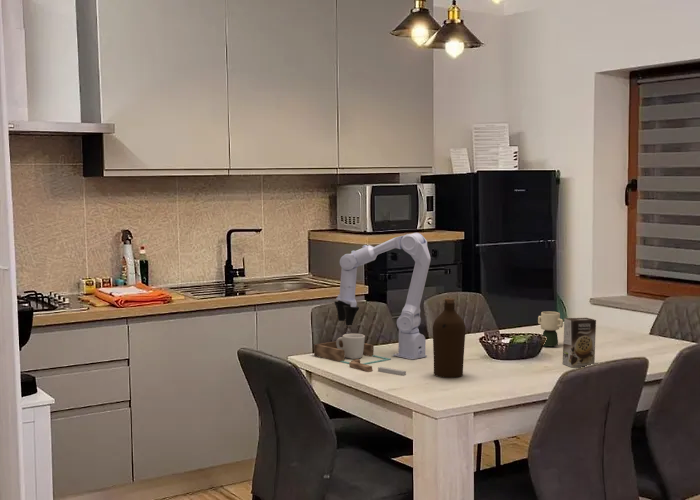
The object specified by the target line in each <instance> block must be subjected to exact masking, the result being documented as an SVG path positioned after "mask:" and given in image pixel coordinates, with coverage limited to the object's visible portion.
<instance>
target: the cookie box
mask: <svg viewBox="0 0 700 500" xmlns="http://www.w3.org/2000/svg"><path fill="white" fill-rule="evenodd" d="M596 330H597V320H596V319H593V318H589V317H564V320H563V341H562V343H563V345H562V365H564V366H568V367H570V368H583V367H582V366H587V365H591V364H594V365H595V364H596V363H595V360H596V359H595V358H596V357H595V356H596V355H595V354H596V336H597V335H596Z"/></svg>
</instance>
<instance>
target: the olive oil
mask: <svg viewBox="0 0 700 500" xmlns="http://www.w3.org/2000/svg"><path fill="white" fill-rule="evenodd" d="M443 305H444V306H443V307H444V308H443V311H442V312H440V314H439V315H438V316H437V317H436V318H435V319H434V322H433V324H432V346H433V375H434V376H436V377H439V378H447V379H452V378H453V379H454V378H460V377H462V376H463V375H464V357H465V344H466V343H465V341H466V329H467V328H466V323H465V321H464V320H463V318H462V317H461V316H460V315H459V314H458V312H457V311H456V310H455V307H456V306H455V305H456V303H455V298H454V297H445V298H444V303H443Z"/></svg>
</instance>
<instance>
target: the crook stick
mask: <svg viewBox="0 0 700 500" xmlns="http://www.w3.org/2000/svg"><path fill="white" fill-rule="evenodd" d="M348 362H349V368H352V369H357V370H360V371H363V372H367V373H370V372H372V371H373V366H372V365H370V364H366V365H365V364H362V363H361V359H360V358H358V359H352V360H351V361H348Z"/></svg>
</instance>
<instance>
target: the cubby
mask: <svg viewBox="0 0 700 500" xmlns="http://www.w3.org/2000/svg"><path fill="white" fill-rule="evenodd" d="M336 341H337V340H334V341H328V342H322V343H321V342H320V343H316V344H314V345H313V346H314V347H313V349H314V351H313V355H314V356H315V357H319V358H323V359H326V360H327V359H328V360H332V361H335V362H340V361H345V356H344V350H341V349H338V348H337V345H336ZM339 346H340V347H341V348H342V347H343V342H342V340H340V341H339ZM374 347H375V345H374V344H370V343H367V342H366V343H365V342H364V350H363V356H367V357H373V356H372V355H375V354H374V352H375V351H374Z"/></svg>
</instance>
